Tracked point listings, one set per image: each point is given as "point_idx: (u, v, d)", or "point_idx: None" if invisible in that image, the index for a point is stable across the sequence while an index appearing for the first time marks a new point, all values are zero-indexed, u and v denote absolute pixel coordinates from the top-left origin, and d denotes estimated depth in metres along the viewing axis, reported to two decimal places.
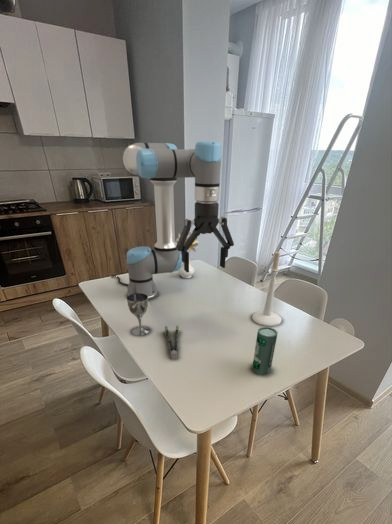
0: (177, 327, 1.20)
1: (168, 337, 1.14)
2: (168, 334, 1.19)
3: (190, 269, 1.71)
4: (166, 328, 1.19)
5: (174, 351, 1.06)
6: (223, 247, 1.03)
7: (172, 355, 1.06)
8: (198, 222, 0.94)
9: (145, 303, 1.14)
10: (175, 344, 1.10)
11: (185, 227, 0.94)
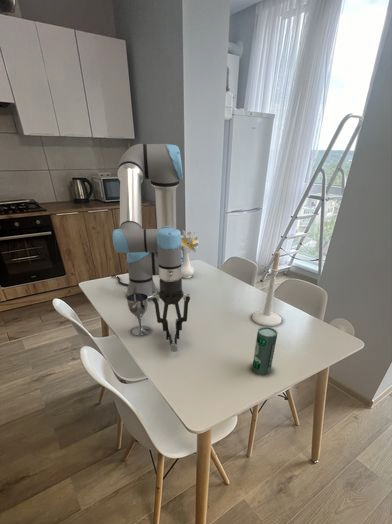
0: None
1: (168, 330, 1.13)
2: None
3: (190, 269, 1.71)
4: None
5: (174, 344, 1.05)
6: (178, 321, 1.10)
7: (172, 348, 1.05)
8: (162, 295, 1.02)
9: (145, 303, 1.14)
10: (175, 337, 1.08)
11: None
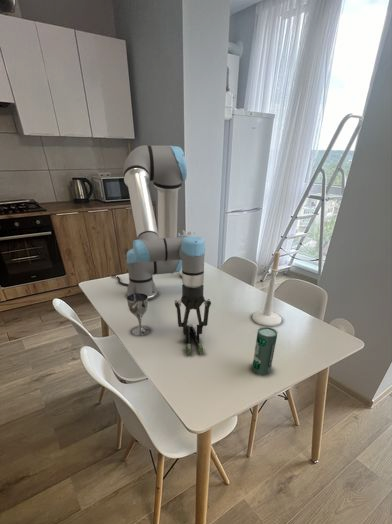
0: (188, 346, 1.08)
1: (196, 337, 1.15)
2: (198, 348, 1.11)
3: None
4: (200, 345, 1.09)
5: (189, 325, 1.22)
6: (186, 327, 1.12)
7: None
8: None
9: (145, 303, 1.14)
10: (189, 329, 1.19)
11: None
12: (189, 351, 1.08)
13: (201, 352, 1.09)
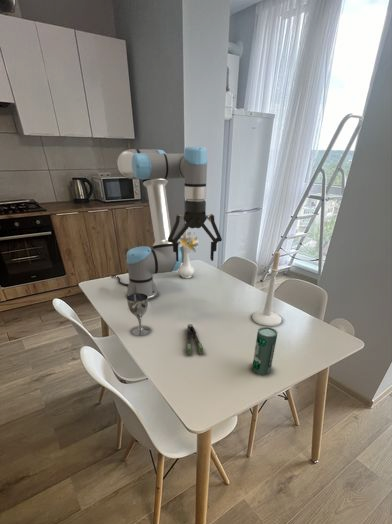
0: (188, 346, 1.08)
1: (196, 337, 1.15)
2: (198, 348, 1.11)
3: (190, 269, 1.71)
4: (200, 345, 1.09)
5: (189, 325, 1.22)
6: (176, 243, 1.11)
7: None
8: None
9: (145, 303, 1.14)
10: (189, 329, 1.19)
11: None
12: (189, 351, 1.08)
13: (201, 352, 1.09)
